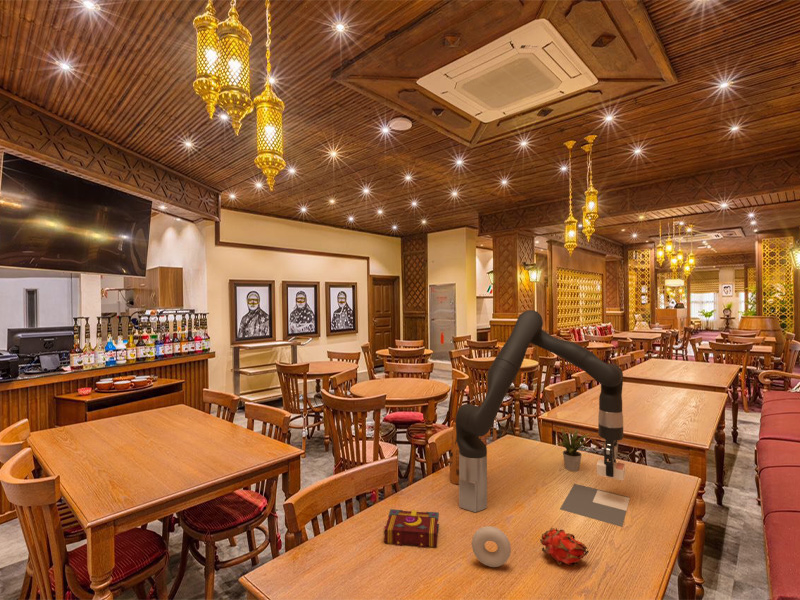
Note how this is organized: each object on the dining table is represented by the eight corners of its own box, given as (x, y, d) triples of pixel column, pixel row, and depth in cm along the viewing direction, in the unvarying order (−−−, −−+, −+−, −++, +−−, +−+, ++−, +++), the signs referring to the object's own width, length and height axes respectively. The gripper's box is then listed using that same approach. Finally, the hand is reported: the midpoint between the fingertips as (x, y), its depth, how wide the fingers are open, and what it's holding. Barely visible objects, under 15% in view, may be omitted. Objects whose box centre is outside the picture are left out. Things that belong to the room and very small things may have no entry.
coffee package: (450, 473, 160) (449, 418, 160) (482, 475, 157) (481, 419, 157) (448, 485, 150) (448, 426, 150) (482, 487, 148) (482, 427, 148)
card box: (596, 474, 137) (596, 463, 137) (599, 468, 142) (599, 458, 141) (623, 480, 132) (623, 469, 132) (625, 474, 137) (625, 463, 137)
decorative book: (437, 549, 112) (437, 531, 112) (380, 545, 114) (379, 527, 114) (438, 526, 123) (438, 510, 123) (386, 522, 125) (386, 506, 125)
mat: (622, 528, 121) (622, 526, 121) (559, 511, 131) (559, 508, 131) (630, 498, 139) (630, 496, 139) (574, 485, 149) (574, 483, 149)
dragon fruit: (536, 558, 110) (584, 575, 105) (538, 556, 103) (589, 574, 99) (541, 524, 114) (587, 539, 110) (543, 520, 107) (592, 536, 103)
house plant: (595, 479, 153) (595, 437, 153) (556, 475, 158) (556, 433, 158) (590, 465, 167) (590, 425, 167) (554, 461, 171) (554, 422, 171)
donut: (511, 564, 105) (510, 526, 105) (511, 573, 102) (511, 533, 102) (472, 558, 108) (472, 521, 107) (471, 566, 104) (470, 528, 104)
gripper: (601, 416, 145) (602, 463, 145) (594, 427, 133) (595, 478, 133) (625, 419, 141) (625, 468, 141) (620, 431, 129) (620, 483, 129)
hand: (610, 472), depth 137 cm, fingers closed on card box, 5 cm apart
